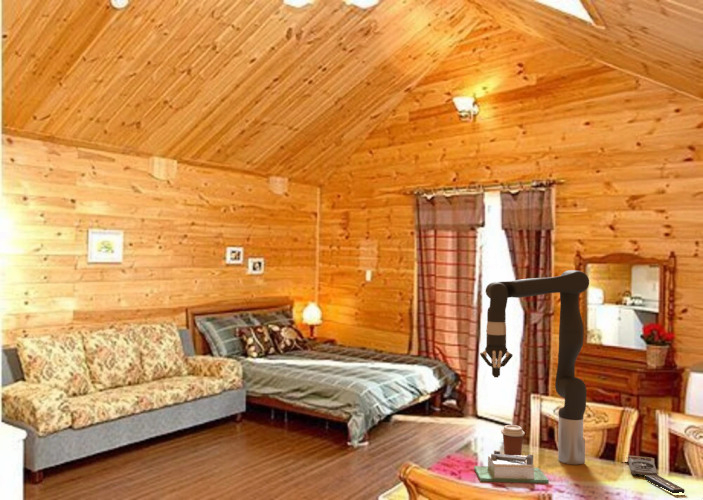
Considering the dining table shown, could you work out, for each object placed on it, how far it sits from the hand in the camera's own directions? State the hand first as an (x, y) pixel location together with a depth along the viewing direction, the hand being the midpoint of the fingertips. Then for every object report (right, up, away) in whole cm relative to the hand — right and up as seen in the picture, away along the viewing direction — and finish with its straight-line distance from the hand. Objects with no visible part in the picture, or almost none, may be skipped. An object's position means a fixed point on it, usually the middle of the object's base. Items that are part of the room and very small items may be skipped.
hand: (496, 377), depth 236 cm
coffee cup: (+8, -33, +4) cm, 34 cm away
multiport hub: (+53, -34, -26) cm, 68 cm away
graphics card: (+52, -34, -9) cm, 63 cm away
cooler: (+1, -33, -17) cm, 37 cm away
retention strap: (+1, -26, -17) cm, 31 cm away
